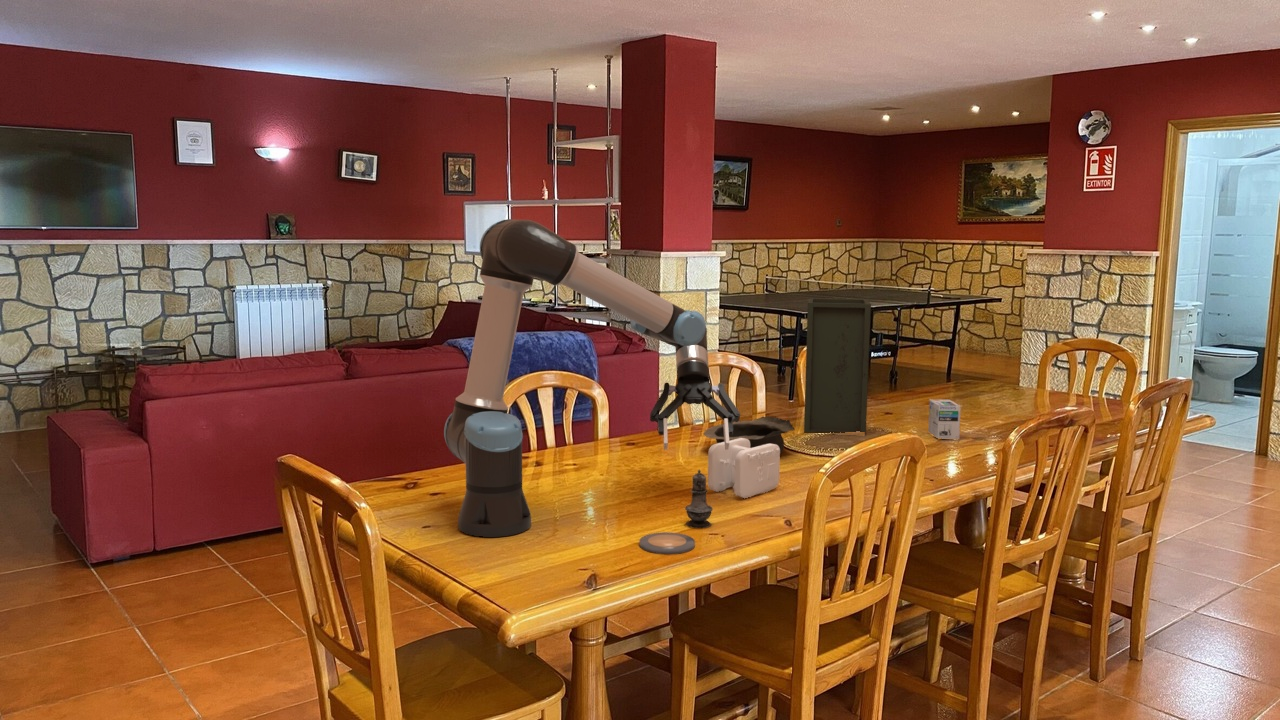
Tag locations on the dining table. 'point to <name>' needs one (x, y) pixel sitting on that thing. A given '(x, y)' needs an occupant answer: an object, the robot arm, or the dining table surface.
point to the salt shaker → (698, 503)
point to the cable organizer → (743, 467)
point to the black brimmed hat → (755, 431)
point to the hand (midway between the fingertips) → (696, 446)
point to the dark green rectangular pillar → (837, 365)
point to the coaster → (667, 543)
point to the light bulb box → (944, 419)
